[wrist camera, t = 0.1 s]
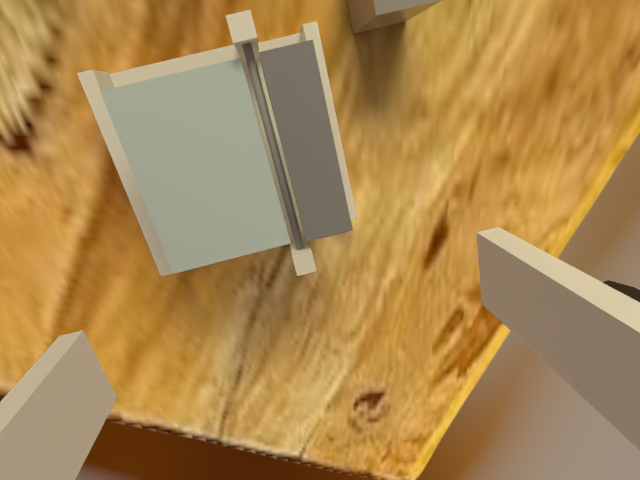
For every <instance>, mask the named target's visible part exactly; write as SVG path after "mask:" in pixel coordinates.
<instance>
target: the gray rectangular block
mask: <svg viewBox="0 0 640 480" xmlns="http://www.w3.org/2000/svg"><path fill="white" fill-rule="evenodd" d="M440 1H442V0H347V3H348V8H349V14H350V20H351V25H352V31H353V34H356V33H360V32H364V31H368V30H372V29H377V28H381V27H385V26H389V25H393V24H398V23H402V22H406V21H407V20H409V19H411V18H413V17H414V16H416V15H418V14H419V13H421V12H423V11H424V10H426V9H428V8H430V7H431V6H433V5H435V4H436V3H438V2H440Z"/></svg>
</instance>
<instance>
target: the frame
mask: <svg viewBox="0 0 640 480" xmlns="http://www.w3.org/2000/svg"><path fill="white" fill-rule="evenodd" d="M226 19H227V23H228V26H229V30H230V34H231V37H232V41H233V44H234V45H230V46H226V47H222V48H218V49H213V50H209V51H205V52H201V53H197V54H192V55H188V56H184V57H180V58H175V59H171V60H167V61H163V62H158V63H154V64H150V65H146V66H141V67H137V68H133V69H129V70H124V71H120V72H116V73H108V72H103V71H98V70H93V69H92V70H88V71H84V72H79V73H77V75H78V77H79V80H80V82H81V84H82V87H83V89H84V92H85V94H86V97H87V99H88V101H89V104H90V106H91V109H92V111H93V113H94V116H95V118H96V121H97V123H98V126H99V128H100V130H101V133H102V135H103V138H104V140H105V142H106V145H107V147H108V150H109V152H110V155H111V157H112V159H113V162H114V164H115V167H116V169H117V171H118V174H119V176H120V179H121V181H122V184H123V186H124V188H125V191H126V193H127V196H128V198H129V200H130V203H131V205H132V208H133V210H134V213H135V215H136V217H137V220H138V222H139V225H140V227H141V229H142V232H143V234H144V237H145V239H146V242H147V244H148V246H149V249H150V251H151V254H152V256H153V258H154V261H155V263H156V266H157V268H158V271H159V273H160V275H161V276H165V275H169V274H173V272H172V270H171V267H170V265H169V262H168V260H167V257H166V255H165V252H164V250H163V247H162V245H161V242H160V240H159V237H158V235H157V232H156V230H155V227H154V225H153V222H152V220H151V217H150V215H149V212H148V210H147V207H146V205H145V202H144V200H143V197H142V195H141V192H140V190H139V187H138V185H137V182H136V180H135V177H134V175H133V172H132V170H131V167H130V165H129V162H128V160H127V157H126V155H125V152H124V150H123V147H122V145H121V142H120V140H119V137H118V135H117V132H116V130H115V127H114V125H113V122H112V120H111V117H110V115H109V112H108V110H107V107H106V105H105V102H104V100H103V97H102V95H101V92H100V91H103V90H107V89H111V88H115V87H120V86H124V85H128V84H132V83H137V82H141V81H145V80H149V79H153V78H158V77H162V76H166V75H170V74H174V73H179V72H183V71H187V70H191V69H196V68H200V67H204V66H208V65H212V64H217V63H221V62H225V61H229V60H233V59H238V58H241V61H242V64H243V68H244V72H245V75H246V79H247V83H248V86H249V90H250V94H251V97H252V101H253V105H254V108H255V112H256V116H257V119H258V123H259V127H260V130H261V134H262V138H263V141H264V145H265V149H266V153H267V156H268V160H269V164H270V167H271V171H272V175H273V178H274V182H275V186H276V189H277V193H278V197H279V200H280V204H281V208H282V211H283V215H284V219H285V222H286V226H287V230H288V233H289V237H290V241H291V243H290V247H291V253H292V259H293V263H294V266H295V270H296V273H297V276H300V275H304V274H308V273H311V272H315V271H317V270H316V266H315V262H314V258H313V254H312V251H311V248H310V244H309V242H307V240H306V236H305V233H304V230H303V226H302V222H301V219H300V215H299V211H298V207H297V203H296V199H295V195H294V191H293V187H292V184H291V180H290V176H289V172H288V168H287V164H286V160H285V156H284V152H283V149H282V145H281V141H280V137H279V133H278V129H277V125H276V121H275V117H274V114H273V110H272V106H271V102H270V98H269V94H268V90H267V86H266V82H265V78H264V75H263V71H262V67H261V63H260V59H259V52H262V51H266V50H271V49H275V48H279V47H283V46H287V45H292V44H296V43H300V42H304V41H309V40H313V43H314V47H315V52H316V57H317V62H318V66H319V71H320V76H321V81H322V86H323V90H324V95H325V100H326V105H327V109H328V114H329V119H330V124H331V129H332V133H333V138H334V143H335V148H336V153H337V157H338V162H339V167H340V172H341V176H342V181H343V186H344V191H345V196H346V200H347V205H348V210H349V215H350V219H351V220H353V219H357V217H356V212H355V207H354V202H353V197H352V192H351V187H350V182H349V177H348V172H347V167H346V162H345V157H344V152H343V147H342V143H341V138H340V133H339V128H338V123H337V118H336V113H335V108H334V103H333V98H332V93H331V88H330V83H329V78H328V74H327V69H326V64H325V59H324V54H323V49H322V44H321V39H320V34H319V29H318V24H317V21H315V22H311V23H307V24H303V25H302V27H301V29H300V33H298V34H293V35H289V36H285V37H281V38H276V39H272V40H268V41H264V42H259V43H258V39H257V34H256V30H255V26H254V22H253V18H252V14H251V11H250V10H247V11H243V12H238V13H234V14H230V15H226Z"/></svg>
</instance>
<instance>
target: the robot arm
mask: <svg viewBox="0 0 640 480" xmlns="http://www.w3.org/2000/svg"><path fill="white" fill-rule="evenodd" d="M477 245H478V259H479V272H480V286H481V300H482V304H483V305H484V306H485V307H486V308H487V309H488V310H489V311H490V312H492V313H493V314H494V315H495V316H496V317H497V318H498V319H499V320H500V321H501V322H502V323H503V324H504V325H506V326H507V327H508V328H509V329H510V330H511V331H512V332H513V333H514V334H515V335H516V336H517V337H518V338H520V339H521V340H522V341H523V342H524V343H525V344H526V345H527V346H528V347H529V348H530V349H531V350H532V351H534V352H535V353H536V354H537V355H538V356H539V357H540V358H541V359H542V360H543V361H544V362H545V363H546V364H547V365H549V366H550V367H551V368H552V369H553V370H554V371H555V372H556V373H557V374H558V375H559V376H561V377H562V378H563V379H564V380H565V381H566V382H567V383H568V384H569V385H570V386H571V387H572V388H573V389H574V390H575V391H577V392H578V393H579V394H580V395H581V396H582V397H583V398H584V399H585V400H586V401H587V402H588V403H589V404H591V405H592V406H593V407H594V408H595V409H596V410H597V411H598V412H599V413H600V414H601V415H602V416H603V417H604V418H606V419H607V420H608V421H609V422H610V423H611V424H612V425H613V426H614V427H615V428H617V429H618V431H620V432H621V433H622V434H623V435H624V436H625V437H626V438H627V439H628V440H629V441H631V443H632V444H634V445H635V446H636V447H637V448H638V449H639V450H640V290H638V289H636V288H634V287H630V286H627V285H623V284H620V283H616V282H612V281H605V282H600V281H598V280H597V279H595V278H593V277H591V276H589V275H587V274H585V273H583V272H582V271H580V270H578V269H576V268H574V267H572V266H570V265H568V264H567V263H565V262H562V261H561V260H559V259H557V258H555V257H554V256H552V255H550V254H548V253H546V252H544V251H542V250H540V249H539V248H537V247H535V246H533V245H531V244H529V243H527V242H525V241H524V240H522V239H520V238H518V237H516V236H514V235H512V234H510V233H509V232H507V231H505V230H503V229H501V228H499V227H497V228H493V229H489V230H485V231H481V232H477ZM116 398H117V397H116V395H115V393H114V391H113V389H112V386H111V384H110V382H109V380H108V378H107V376H106V374H105V372H104V370H103V368H102V366H101V364H100V362H99V360H98V358H97V356H96V354H95V352H94V350H93V348H92V346H91V344H90V342H89V340H88V338H87V336H86V334H85V332H84V330H82V331H78V332H74V333H70V334H66V335H62V336H59V337H58V338H57V339H56V340H55V341H54V343H53V344H52V345H51V346H50V347H49V348H48V349H47V350H46V352H45V353H44V354H43V355H42V356H41V357H40V358H39V359H38V360H37V362H36V363H35V364H34V365H33V366H32V367H31V368H30V369H29V371H28V372H27V373H26V374H25V375H24V376H23V377H22V378H21V380H20V381H19V382H18V383H17V384H16V385H15V386H14V387H13V388H12V390H11V391H10V392H9V393H8V394H7V395H6V396H5V397H4V399H3V400H2V401H1V402H0V480H75V479H76V477H77V475H78V473H79V471H80V469H81V467H82V465H83V463H84V461H85V459H86V457H87V455H88V453H89V451H90V449H91V447H92V445H93V444H94V442H95V440H96V438H97V436H98V434H99V432H100V430H101V428H102V426H103V424H104V422H105V420H106V418H107V416H108V414H109V412H110V410H111V408H112V406H113V404H114V402H115V400H116Z"/></svg>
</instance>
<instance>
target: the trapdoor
mask: <svg viewBox="0 0 640 480" xmlns="http://www.w3.org/2000/svg"><path fill="white" fill-rule="evenodd" d="M259 59H260V63H261V67H262V71H263V75H264V78H265V82H266V86H267V90H268V94H269V98H270V102H271V106H272V110H273V114H274V117H275V121H276V125H277V129H278V133H279V137H280V141H281V145H282V149H283V152H284V156H285V160H286V164H287V168H288V172H289V176H290V180H291V184H292V187H293V191H294V195H295V199H296V203H297V207H298V211H299V215H300V219H301V222H302V226H303V230H304V233H305V236H306V240H307V242H309V241H313V240H317V239H321V238H324V237H328V236H332V235H336V234H340V233H344V232H347V231H351V230H353V229H352V224H351V219H350V215H349V210H348V205H347V200H346V196H345V191H344V186H343V181H342V176H341V172H340V167H339V162H338V157H337V153H336V148H335V143H334V138H333V133H332V129H331V124H330V119H329V114H328V109H327V105H326V100H325V95H324V90H323V86H322V81H321V76H320V71H319V66H318V62H317V57H316V52H315V47H314V43H313V40H309V41H304V42H300V43H296V44H292V45H287V46H283V47H279V48H275V49H271V50H266V51H262V52H259ZM100 92H101V95H102V97H103V100H104V102H105V105H106V107H107V110H108V112H109V115H110V117H111V120H112V122H113V125H114V127H115V130H116V132H117V135H118V137H119V140H120V142H121V145H122V147H123V150H124V152H125V155H126V157H127V160H128V162H129V165H130V167H131V170H132V172H133V175H134V177H135V180H136V182H137V185H138V187H139V190H140V192H141V195H142V197H143V200H144V202H145V205H146V207H147V210H148V212H149V215H150V217H151V220H152V222H153V225H154V227H155V230H156V232H157V235H158V237H159V240H160V242H161V245H162V247H163V250H164V252H165V255H166V257H167V260H168V262H169V265H170V267H171V270H172V272H173V274H175V273H179V272H183V271H187V270H190V269H194V268H198V267H202V266H206V265H210V264H213V263H217V262H221V261H225V260H229V259H233V258H237V257H240V256H244V255H248V254H252V253H256V252H260V251H263V250H267V249H271V248H275V247H279V246H283V245H287V244H290V243H291V241H290V237H289V233H288V230H287V226H286V222H285V219H284V215H283V211H282V208H281V204H280V200H279V197H278V193H277V189H276V186H275V182H274V178H273V175H272V171H271V167H270V164H269V160H268V156H267V153H266V149H265V145H264V141H263V138H262V134H261V130H260V127H259V123H258V119H257V116H256V112H255V108H254V105H253V101H252V97H251V94H250V90H249V86H248V83H247V79H246V75H245V72H244V68H243V64H242V61H241V58H238V59H233V60H229V61H225V62H221V63H217V64H212V65H208V66H204V67H200V68H196V69H191V70H187V71H183V72H179V73H174V74H170V75H166V76H162V77H158V78H153V79H149V80H145V81H141V82H137V83H132V84H128V85H124V86H120V87H115V88H111V89H107V90H103V91H100Z"/></svg>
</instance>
